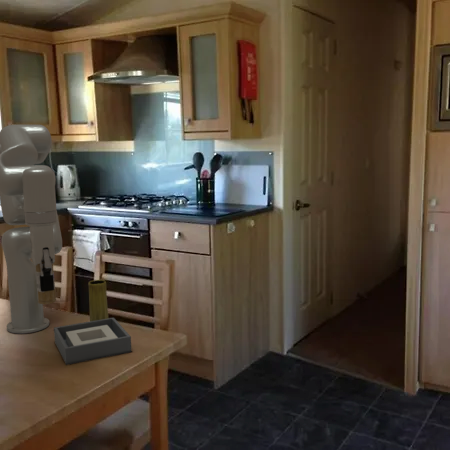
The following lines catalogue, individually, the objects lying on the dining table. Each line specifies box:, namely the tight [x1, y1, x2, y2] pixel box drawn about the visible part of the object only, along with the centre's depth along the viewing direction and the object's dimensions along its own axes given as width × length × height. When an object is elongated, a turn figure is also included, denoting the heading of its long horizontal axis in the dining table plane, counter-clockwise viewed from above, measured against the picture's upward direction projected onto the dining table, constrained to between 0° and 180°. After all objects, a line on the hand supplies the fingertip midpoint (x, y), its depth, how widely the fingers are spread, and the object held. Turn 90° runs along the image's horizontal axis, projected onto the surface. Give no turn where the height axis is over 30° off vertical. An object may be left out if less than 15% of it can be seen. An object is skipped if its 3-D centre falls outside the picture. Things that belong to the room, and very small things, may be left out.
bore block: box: [66, 325, 118, 347], centre depth 153 cm, size 12×12×3 cm
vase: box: [87, 279, 109, 322], centre depth 169 cm, size 6×6×14 cm
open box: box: [53, 317, 132, 366], centre depth 153 cm, size 18×18×4 cm
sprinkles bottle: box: [36, 261, 57, 305], centre depth 138 cm, size 5×5×14 cm
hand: (46, 287), depth 138 cm, fingers closed on sprinkles bottle, 4 cm apart
